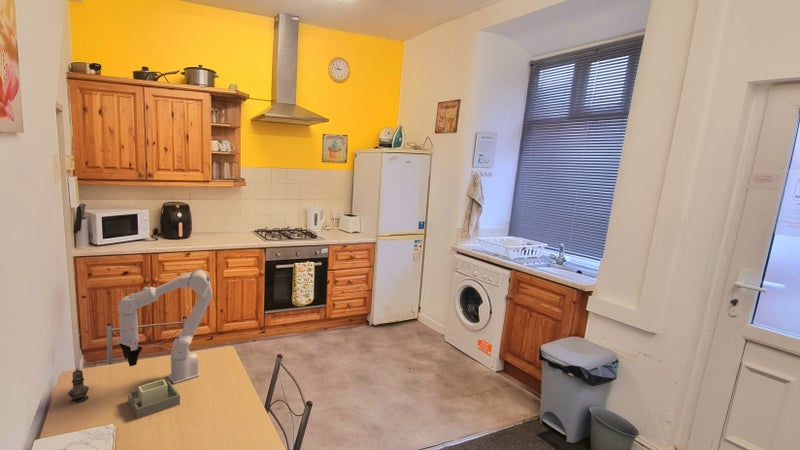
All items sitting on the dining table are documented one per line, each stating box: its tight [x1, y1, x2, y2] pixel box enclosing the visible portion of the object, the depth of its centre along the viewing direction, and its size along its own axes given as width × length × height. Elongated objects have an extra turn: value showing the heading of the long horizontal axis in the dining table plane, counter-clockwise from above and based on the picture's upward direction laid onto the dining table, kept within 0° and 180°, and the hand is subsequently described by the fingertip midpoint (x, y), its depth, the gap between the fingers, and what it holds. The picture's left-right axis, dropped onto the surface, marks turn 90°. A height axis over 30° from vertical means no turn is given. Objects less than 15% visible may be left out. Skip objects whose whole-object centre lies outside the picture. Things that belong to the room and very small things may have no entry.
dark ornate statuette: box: [67, 367, 90, 405], centre depth 144 cm, size 6×6×12 cm
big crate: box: [127, 380, 181, 420], centre depth 144 cm, size 13×13×4 cm
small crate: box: [137, 378, 168, 407], centre depth 144 cm, size 8×5×6 cm, turn 135°
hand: (130, 361), depth 154 cm, fingers open, 7 cm apart
